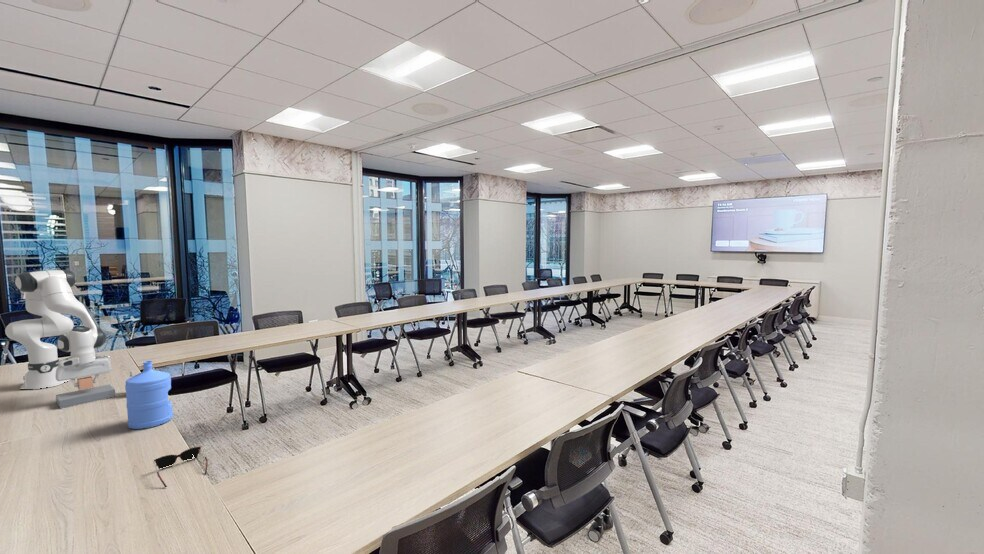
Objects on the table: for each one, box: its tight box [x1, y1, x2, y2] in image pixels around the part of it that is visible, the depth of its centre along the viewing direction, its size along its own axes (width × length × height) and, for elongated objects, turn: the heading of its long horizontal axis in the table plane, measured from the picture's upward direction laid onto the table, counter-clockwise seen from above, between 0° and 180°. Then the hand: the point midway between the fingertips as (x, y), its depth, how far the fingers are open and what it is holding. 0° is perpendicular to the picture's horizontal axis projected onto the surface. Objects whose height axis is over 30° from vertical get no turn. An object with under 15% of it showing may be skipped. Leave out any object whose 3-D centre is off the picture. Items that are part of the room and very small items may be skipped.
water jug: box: [124, 360, 174, 430], centre depth 179 cm, size 16×16×28 cm
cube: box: [76, 375, 94, 391], centre depth 206 cm, size 5×5×5 cm
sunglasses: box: [153, 446, 209, 488], centre depth 140 cm, size 14×16×5 cm
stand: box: [55, 384, 116, 410], centre depth 207 cm, size 13×20×4 cm, turn 143°
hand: (85, 384), depth 206 cm, fingers closed on cube, 5 cm apart
